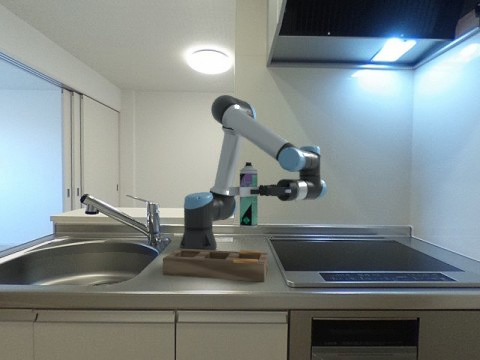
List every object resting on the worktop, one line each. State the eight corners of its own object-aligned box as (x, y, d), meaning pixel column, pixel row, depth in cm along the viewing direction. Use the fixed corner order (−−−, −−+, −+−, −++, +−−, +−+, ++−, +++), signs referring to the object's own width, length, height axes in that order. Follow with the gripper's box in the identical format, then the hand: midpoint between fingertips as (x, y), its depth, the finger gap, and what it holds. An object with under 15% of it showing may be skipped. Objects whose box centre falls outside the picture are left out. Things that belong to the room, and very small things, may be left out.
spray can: (247, 224, 89) (246, 162, 89) (261, 226, 85) (260, 162, 85) (236, 226, 84) (236, 162, 84) (250, 228, 81) (250, 161, 81)
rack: (178, 262, 96) (178, 247, 96) (267, 268, 90) (267, 251, 90) (162, 274, 84) (162, 256, 84) (264, 281, 78) (264, 262, 78)
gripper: (311, 202, 87) (253, 206, 74) (273, 199, 103) (219, 202, 90) (311, 179, 87) (252, 178, 74) (272, 179, 103) (218, 179, 90)
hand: (234, 191), depth 82 cm, fingers closed on spray can, 5 cm apart
